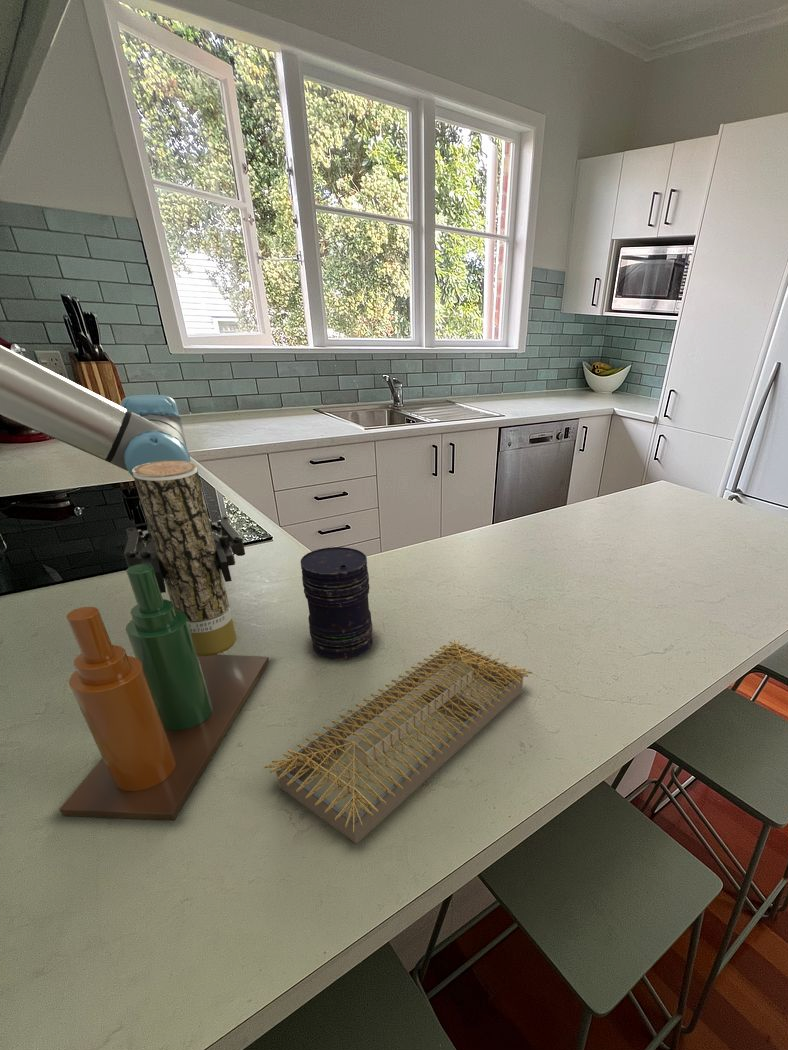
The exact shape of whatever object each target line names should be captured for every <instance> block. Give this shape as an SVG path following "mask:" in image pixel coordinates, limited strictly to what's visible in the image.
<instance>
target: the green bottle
mask: <svg viewBox="0 0 788 1050" xmlns="http://www.w3.org/2000/svg"><path fill="white" fill-rule="evenodd" d="M126 575H127V578H128V581H129V583H130V586H131V590H132V592H133V595H134V599H135V602H136V605H134V606H133V607H132V608H131V609H130V615H131V618H132V619H131V620H130V621H129V622H128V623H127V624H126V626H125V632H126V636H127V638H128V640H129V643H130V645H131V648H132V651H133V654H134V657H135V658H137V659H139V660H140V661H141V663H142V665H143V668H144V671H145V674H146V676H147V679H148V682H149V685H150V688H151V691H152V693H153V696H154V699H155V702H156V705H157V708H158V710H159V713H160V716H161V719H162V722H163V725H164V727H165V729H168V730H185V729H189V728H192V727H195V726H197V725H199V724H201V723H202V722H204V721H205V720H206V719H208V717H209V716H210V715H211V713H212V710H213V707H212V704H211V700H210V696H209V693H208V689H207V686H206V682H205V679H204V675H203V672H202V668H201V665H200V661H199V658H198V654H197V650H196V647H195V643H194V640H193V636H192V633H191V629H190V626H189V622H188V619H187V616H186V615H185V614H184V613H183V612H180V611H177V610H175V608H174V604H173V603H172V602H171V600H170V599H165V598H163V594H162V593H161V591H160V588H159V585H158V581H157V578H156V575H155V572H154V568H153V566H152V565H150V564H138V565H134V566H131V567H129V568H128V567H127V569H126Z"/></svg>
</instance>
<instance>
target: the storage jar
mask: <svg viewBox="0 0 788 1050" xmlns="http://www.w3.org/2000/svg"><path fill="white" fill-rule="evenodd" d="M300 569H301V580H302V581H301V582H302V586H303V593H304V595H305V599H306V600H307V607H308V613H309V615H308V625H309V626H308V630H309V635H310V638H311V639H310V640H311V642H312V643H311V645H312V651H313V652H314V653H315V654H316V655H317V656H318V657H320V658H323V659H326V660H331V661H346V660H347V661H348V660H352V659H356V658H359V657H361V656H363V655H365V654H366V653H368V652H369V651H370V650H371V649H372V648H373V647H372V646H373V643H374V640H373V621H372V613H371V610H370V605H369V593H370V576H369V571H368V569H369V568H368V557H367V554H366V553H364V552H363V551H361V550H358V549H356V548H351V547H344V546H333V547H331V546H330V547H323V548H319V549H315V550H312V551H310V552H308V553H306V554H305V555H303V556H302V557H301V559H300Z"/></svg>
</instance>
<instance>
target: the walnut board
mask: <svg viewBox="0 0 788 1050" xmlns="http://www.w3.org/2000/svg"><path fill="white" fill-rule="evenodd" d="M198 658H199V661H200V665H201V668H202V672H203V675H204V679H205V682H206V686H207V689H208V693H209V696H210V700H211V704H212V707H213V710H212V713H211V715H210V716H209V717H208V719H206V720H205V721H204V722H202V723H201V724H199V725H197V726H195V727H192V728H189V729H185V730H168V729H165V730H166V733H167V736H168V739H169V742H170V744H171V747H172V750H173V753H174V756H175V759H176V766H175V769H174V771H173V772H172V773H171V775H170V776H169V777H168V778H166V779H165V780H164V781H162V782H161V783H159V784H157V785H156V786H153V787H151V788H148V789H145V790H140V791H124V790H121V789H119V788H117V787H116V786H115V784H114V782H113V780H112V778H111V775H110V773H109V771H108V769H107V767H106V764H105V762H104V760H103V758H102V757H101V759H100V760H99V761H98V762H97V764H96V765H95V766H94V767H93V768H92V770H91V771H90V772H89V773H88V774H87V775H86V777H84V779H83V780H82V782H81V783H80V784H79V785H78V786H77V788H76V789H75V790H74V791H73V792H72V793H71V795H69V797H68V798H67V799H66V801H65V802H64V803H63V804H62V806H61V807H60V808H59V812H60V814H61V816H65V817H66V816H68V817H87V818H88V817H90V818H111V819H112V818H116V819H134V820H135V819H136V820H139V819H140V820H160V821H161V820H163V821H175V820H176V818H177V816H178V815H179V813H180V811H181V810H182V808H183V806H184V804H185V803H186V801H187V800H188V798H189V796H190V795H191V793H192V791H193V790H194V788H195V786H196V784H197V783H198V782H199V780H200V778H201V777H202V775H203V773H204V771H205V769H206V768H207V766H208V764H209V763H210V761H211V759H212V758H213V757H214V754H215V753H216V751H217V750H218V748H219V747H220V745H221V743H222V741H223V740H224V738H225V736H226V735H227V733H228V731H229V729H230V728H231V726H232V725H233V723H234V722H235V720H236V718H237V716H238V714H239V713H240V711H241V710H242V708H243V707H244V705H245V703H246V701H247V700H248V698H249V696H250V695H251V693H252V691H253V690H254V688H255V687H256V684H257V683H258V682H259V679H260V678H261V677H262V675H263V673H264V672H265V669H266V668H267V667H268V665H269V663H270V658H269V656H263V655H243V654H242V655H241V654H240V655H238V654H221V653H219V654H216V655H211V656H198Z"/></svg>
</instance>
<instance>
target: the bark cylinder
mask: <svg viewBox="0 0 788 1050" xmlns="http://www.w3.org/2000/svg"><path fill="white" fill-rule="evenodd" d="M132 472H133V477H134V478H133V477H132V478H133V480H134V483H135V486H136V490H137V494H138V496H139V500H140V503H141V507H142V510H143V513H144V516H145V520H146V523H147V528H148V527H149V530H150V533H151V537H152V540H153V543H154V547H155V550H156V553H157V557H158V560H159V563H160V567H161V570H162V573H163V577H164V583H165V588H166V591H167V594H168V597H169V601H171V602H172V603H173V604H174V608H175V610H177V611H180V612H183V613H184V614H185V615H186V616H187V619H188V622H189V626H190V629H191V633H192V636H193V640H194V643H195V647H196V650H197V654H198V656H211V655H216V654H221V653H224V652H226V651H228V650H230V649H232V647H233V646H234V645H235V643H236V642H237V641H236V640H237V634H236V629H235V625H234V620H233V615H232V611H231V606H230V602H229V598H228V594H227V590H226V586H225V580H224V577H223V574H222V571H221V568H220V564H219V560H218V556H217V551H216V547H215V542H214V538H213V534H212V530H211V525H210V521H209V519H210V518H209V512H208V507H207V505H206V504H207V503H206V500H205V496H204V492H203V487H202V482H201V479H200V474H199V470H198V468H197V465H196V463H195V462H191V461H190V462H187V461H158V462H151V463H146V464H142V465H139V466H137V467H135V468H133V469H132Z"/></svg>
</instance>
